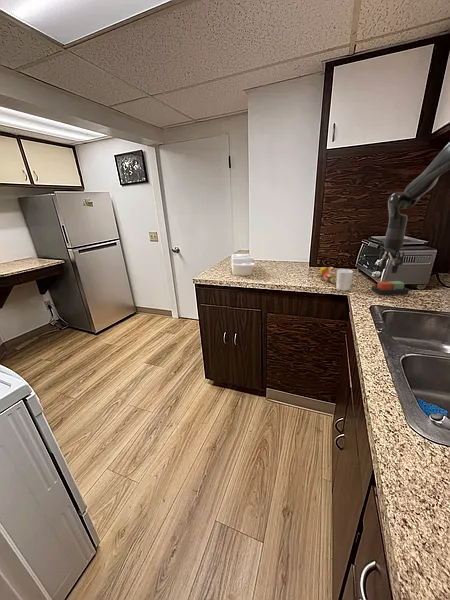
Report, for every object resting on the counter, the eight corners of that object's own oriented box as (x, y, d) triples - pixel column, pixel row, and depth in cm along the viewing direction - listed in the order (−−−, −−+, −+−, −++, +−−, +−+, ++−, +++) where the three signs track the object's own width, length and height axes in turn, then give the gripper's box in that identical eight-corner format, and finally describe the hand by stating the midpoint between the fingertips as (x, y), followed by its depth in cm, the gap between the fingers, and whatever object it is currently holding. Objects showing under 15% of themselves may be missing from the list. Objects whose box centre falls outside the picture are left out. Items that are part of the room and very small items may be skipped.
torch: (322, 279, 165) (337, 286, 141) (312, 273, 165) (324, 279, 141) (329, 268, 163) (345, 273, 139) (318, 262, 163) (332, 266, 139)
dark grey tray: (397, 288, 131) (398, 284, 131) (408, 294, 124) (409, 289, 123) (371, 290, 131) (372, 285, 131) (380, 295, 124) (381, 290, 123)
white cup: (353, 289, 134) (356, 271, 130) (344, 292, 130) (347, 273, 127) (341, 285, 140) (343, 268, 137) (331, 288, 137) (333, 270, 133)
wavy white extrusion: (231, 265, 198) (231, 252, 194) (252, 264, 197) (252, 251, 193) (230, 277, 165) (230, 261, 162) (255, 276, 165) (255, 261, 161)
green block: (397, 289, 129) (399, 280, 128) (402, 291, 125) (404, 283, 124) (387, 289, 129) (389, 281, 128) (392, 292, 125) (394, 283, 124)
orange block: (386, 289, 129) (387, 281, 128) (391, 292, 125) (393, 283, 124) (376, 290, 129) (377, 281, 128) (381, 292, 125) (382, 284, 124)
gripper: (413, 239, 111) (405, 274, 117) (392, 235, 124) (386, 267, 130) (396, 240, 111) (389, 274, 117) (377, 236, 124) (372, 267, 130)
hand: (388, 270), depth 123 cm, fingers open, 8 cm apart
